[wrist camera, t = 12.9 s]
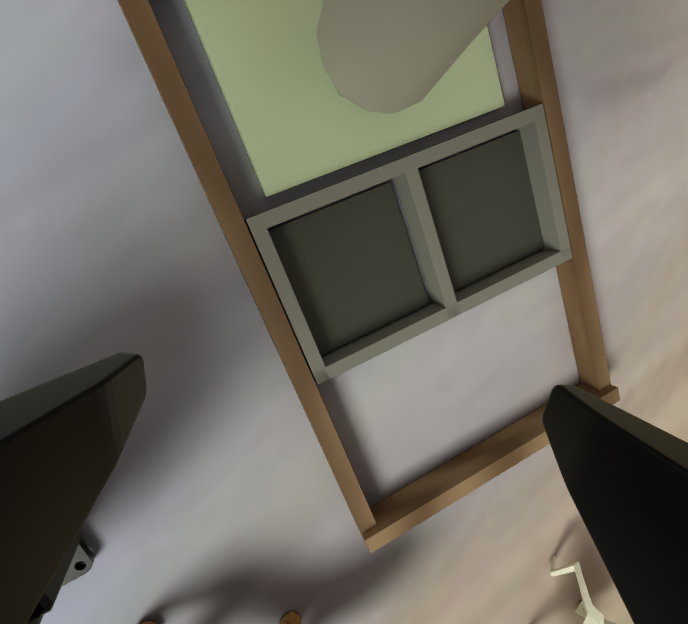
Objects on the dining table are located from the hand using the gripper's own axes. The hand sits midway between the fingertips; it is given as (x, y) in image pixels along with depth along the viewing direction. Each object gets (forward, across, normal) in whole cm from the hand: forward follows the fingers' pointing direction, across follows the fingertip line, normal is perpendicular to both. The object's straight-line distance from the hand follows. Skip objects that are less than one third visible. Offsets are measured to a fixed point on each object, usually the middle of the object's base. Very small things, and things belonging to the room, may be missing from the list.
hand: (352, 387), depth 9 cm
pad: (+16, 0, -8) cm, 18 cm away
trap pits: (+15, -4, 0) cm, 15 cm away
